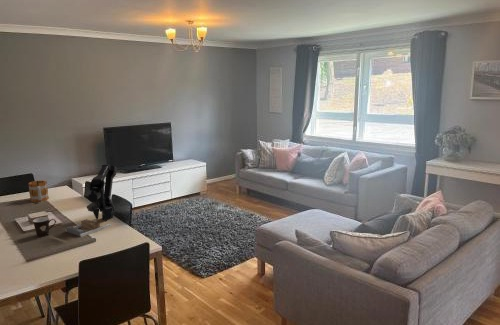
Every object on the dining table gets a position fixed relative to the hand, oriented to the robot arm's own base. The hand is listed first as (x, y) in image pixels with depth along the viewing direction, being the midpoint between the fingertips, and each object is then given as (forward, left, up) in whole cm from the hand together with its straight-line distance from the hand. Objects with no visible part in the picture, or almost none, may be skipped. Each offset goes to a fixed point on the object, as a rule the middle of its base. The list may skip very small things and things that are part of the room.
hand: (101, 220), depth 244 cm
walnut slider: (+8, 0, -3) cm, 9 cm away
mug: (-10, -96, -4) cm, 97 cm away
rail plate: (+10, 0, -4) cm, 10 cm away
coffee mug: (+28, -17, -4) cm, 33 cm away
